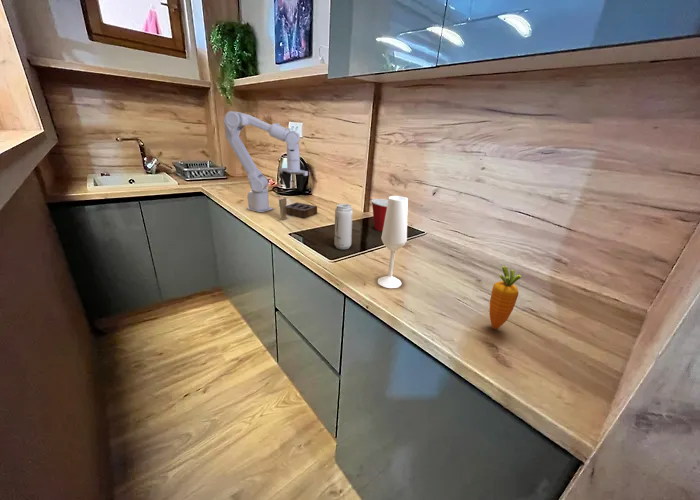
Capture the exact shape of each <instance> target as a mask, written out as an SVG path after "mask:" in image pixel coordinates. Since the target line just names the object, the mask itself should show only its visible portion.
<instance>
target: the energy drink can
mask: <svg viewBox="0 0 700 500" xmlns="http://www.w3.org/2000/svg"><path fill="white" fill-rule="evenodd" d="M353 215H354V210H353V208H352V204H349V203H338V204H337V205H336V208H335V209H334V241H333V242H334V243H333V245H334V246H335V248H336V249H338V250H349V249H350V247H351V246H352V238H353Z"/></svg>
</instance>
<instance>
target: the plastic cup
mask: <svg viewBox="0 0 700 500" xmlns="http://www.w3.org/2000/svg"><path fill="white" fill-rule="evenodd" d="M370 202H371V206H372V218H373V225H374V226H373V227H374V230H375V231H377V232H383V226H384V221H385V216H386V210H387V205H388V199H385V198H373V199H371V201H370Z"/></svg>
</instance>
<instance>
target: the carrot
mask: <svg viewBox="0 0 700 500" xmlns="http://www.w3.org/2000/svg"><path fill="white" fill-rule="evenodd" d="M501 269H502V273H503V274H499V278H500V279H501V281H497V282H495V283H493V285H492V289H491V294H490V298H489V299H490V300H489V320H490V324H491V327H492V329H493V330H497V329H498V330H499V328H501V326H503V325H504V324H505V323H506V322H507V321H508V319H509V318H510V316H511V314H512V312H513V311H514V308H515V305H516V302H517V299H518V296H519V289H518V286H516V285H515V283H516V282H517V281H518V280H520V279H522V275H521V274H517V275H515V270H514V269H510V270H509V269H508V266H506V265H504V266H502V267H501Z"/></svg>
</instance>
